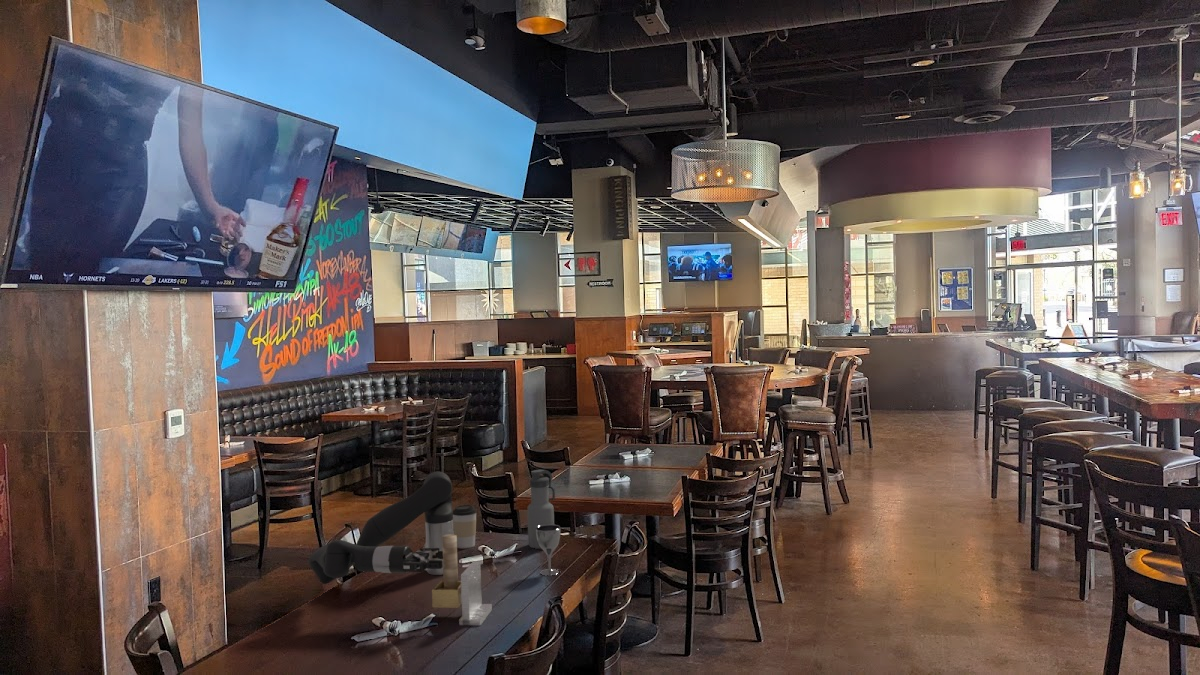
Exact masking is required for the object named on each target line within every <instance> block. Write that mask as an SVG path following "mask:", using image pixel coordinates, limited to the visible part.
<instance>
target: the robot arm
mask: <svg viewBox="0 0 1200 675" xmlns="http://www.w3.org/2000/svg"><path fill="white" fill-rule="evenodd" d="M452 492H453V484H452V480H451V478H450V477H449V475H447V474H446V473H444V472H442V471H433V472H431V473H429V474H428V475H427V476H426V477H425V478H424V481H423V484H422V486H420V487H419V488H418V489H417V490H416V491H414V492H413V493H412V494H410V495H409V496H407V497H406V498H404V499H402V500H399V501H397V502H395V503H392V504H391V505H390V504H389V505H388V506H386V507H385V508H383V509H381V510H380V511H379V512H377V513H375V514H374V515H373V516H372V517H370V518H369V519H368V520H367V521H366V522H365V524H364V526H363V528H362V530H361V532H360V535H359V537H358V539H357V541H356V543H355V544H354V543H352V542H349V541H346V540H344V539H342V540H341V539H334V540H332V541H330V542H329V543H327V544H325V545H324V544H323V545H322V546H321V547H319V548H317V549H315V551H313V553H311V554H310V556H309V557H308V559H307V562H308V565H309V567H310V568H311V569H312V571H313V573H314V574H315V575H316V577H317V579H318V580H319V581H320V582H321V583H322V584H323V585H326V584H329V583H331V582H333V581H335V580H336V579H340V578H344V577H346V576H347V575H348V574H349V572H350V569H351V567H353V566H355V569H356V570H357V571H358V572H363V573H365V572H366V573H367V572H368V573H370V572H373V573H382V574H407V573H412V572H413V573H423V572H425V571H426V572H427V574H429V575H435V576H438V575H439V576H440V575H441V576H442V575H443V543H442V537H443V536H444V535H449V534H453V535H455V531H454V523H453V520H454V519H453V510H454V509H453V502H452V501H453V500H452ZM422 514H424V523H425V524H424V526H425V527H424V528H425V543H424V546H423V547H420V548H419V550H416V551H414V552H413V550H412V548H411V546H409V545H383V544H384V543H386V542H387V541H389V540H390V539H391V538H393V537H394V536H396V535H398V533H400V532H401V531H402V530H404V529H405V528H406V527H407V526H410V524H411V523H412V522H414V521H415V520H416V519H417V518H419V517H420V516H421V515H422Z"/></svg>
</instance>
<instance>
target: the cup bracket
mask: <svg viewBox="0 0 1200 675" xmlns="http://www.w3.org/2000/svg"><path fill="white" fill-rule="evenodd" d="M481 569H482V568H481V560H478V561H477V560H474V561H472V562H471V563H470V564H469V565H468V566H467V567H466V569H464V571H463V572H462V573H461V574H460V580H458V588H457V589H444V580H440V581H439V582H438V583H437V584H436V585H435V586H434V587H433V588H432V589H431V601H432V602H431V603H432V606H431V607H432V608H438V609H439V608H441V609H442V608H443V609H446V608H450V609H452V608H454V609H456V608H457V609H458V608H460V607H461V613H462V614H461V616H460V618H459V619H458V622H459V623H458V625H459V626H481V625H483V622H485V620H486V619H487V617H488V615H490V613H491V612H492V610H493V604H492V603H483V600H482V596H483V595H482V572H481Z"/></svg>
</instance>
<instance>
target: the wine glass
mask: <svg viewBox="0 0 1200 675" xmlns="http://www.w3.org/2000/svg"><path fill="white" fill-rule="evenodd" d="M536 536H537V541H538V544H539V546H540V547H541V548H542V549H541V550H543V552H544V553H545V555H546V556H547V563H548V565H547V568H546V569H542V570H540V571H541V572H540V571H539V572H540V573H541V574H542V575H545V576H544V577H553V576H552V575H555V576H558V575H559V574H558V573H559V571H558V570H559V569H557V570H556V568H552V565H551V562H552V555H553V553H554V551H555V550H556V549H557V547H558V545H559V544H560V540H561V525H558V524H554V525H553V524H547V525H541V526H538V527H537V528H536ZM557 574H558V575H557ZM542 575H541V576H542ZM547 575H548V576H547Z"/></svg>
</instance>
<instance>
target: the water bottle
mask: <svg viewBox="0 0 1200 675" xmlns="http://www.w3.org/2000/svg"><path fill="white" fill-rule="evenodd" d="M530 475H531V478H530V479H529V487H530V503H529V505H528V506H527V508H526V509H527V511H526V512H527V513H526V514H527V517H526V518H527V535H528V536H527V537H528V539H527V540H528V542H527V543H528V546H529V547H530V548H532V549H534V548H535V549H536V550H543V549H542V548H541V547H540V546H539V544H538V541H537V536H536V528H537V527H538V526H541V525H547V524H553V525H555V512H554V511H555V509H554V508H555V507H554V505H553V504H552V503H551V502H550V501H554V500H555V499H556V492H555V491H556V490H555V487H554V486H552V482H553V475H552V473H551V472H550V471H549V470H547V469H534V470H531V471H530ZM549 489H551V491H552V497H550V495H549V494H550V493H549ZM535 549H534V550H535Z"/></svg>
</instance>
